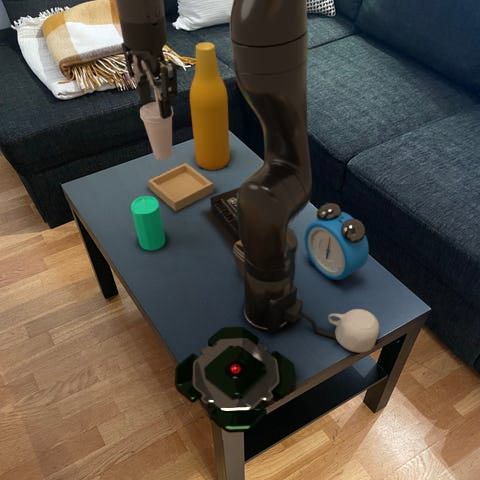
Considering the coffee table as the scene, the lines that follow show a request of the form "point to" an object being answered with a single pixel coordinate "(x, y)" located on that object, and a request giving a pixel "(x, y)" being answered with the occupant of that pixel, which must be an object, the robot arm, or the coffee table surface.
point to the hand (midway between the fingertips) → (156, 109)
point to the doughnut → (239, 256)
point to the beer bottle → (209, 111)
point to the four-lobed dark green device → (235, 378)
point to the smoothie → (158, 129)
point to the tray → (180, 186)
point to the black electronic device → (225, 215)
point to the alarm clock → (336, 242)
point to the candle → (148, 222)
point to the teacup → (356, 330)
